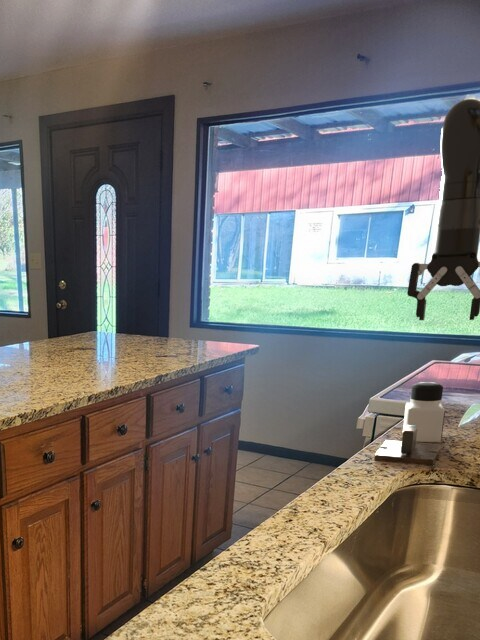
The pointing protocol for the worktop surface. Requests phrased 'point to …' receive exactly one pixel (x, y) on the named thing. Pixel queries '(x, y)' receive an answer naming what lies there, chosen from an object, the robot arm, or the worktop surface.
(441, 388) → the medicine bottle
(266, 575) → the worktop surface
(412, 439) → the dark grey upright block
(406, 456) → the panel
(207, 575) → the worktop surface
